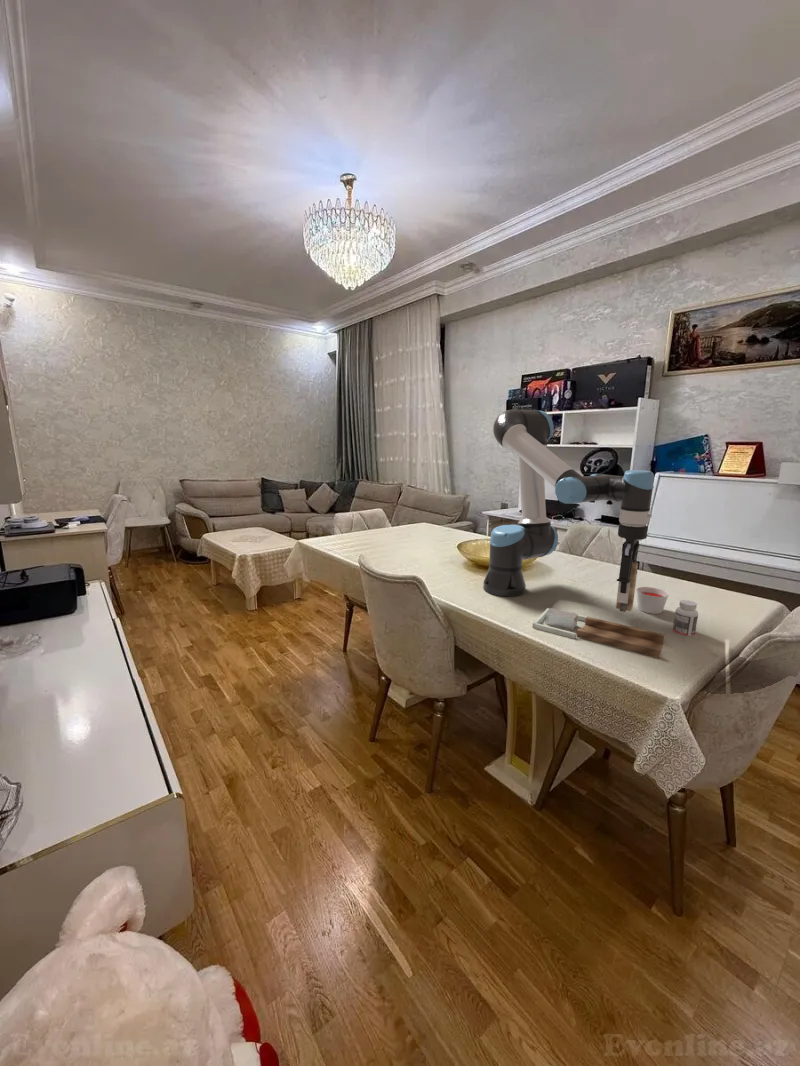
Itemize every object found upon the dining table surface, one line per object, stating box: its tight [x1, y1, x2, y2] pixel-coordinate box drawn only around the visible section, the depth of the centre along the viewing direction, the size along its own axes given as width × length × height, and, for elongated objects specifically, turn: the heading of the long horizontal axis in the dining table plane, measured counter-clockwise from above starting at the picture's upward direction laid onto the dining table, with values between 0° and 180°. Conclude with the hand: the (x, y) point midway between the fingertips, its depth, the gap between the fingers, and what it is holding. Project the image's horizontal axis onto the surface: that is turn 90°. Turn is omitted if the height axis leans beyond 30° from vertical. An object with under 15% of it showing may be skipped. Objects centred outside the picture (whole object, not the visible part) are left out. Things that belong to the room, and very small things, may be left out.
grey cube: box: [544, 607, 565, 628], centre depth 128 cm, size 4×4×4 cm
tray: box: [531, 607, 587, 640], centre depth 128 cm, size 12×14×2 cm
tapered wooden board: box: [615, 561, 639, 613], centre depth 129 cm, size 4×7×14 cm, turn 144°
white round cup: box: [636, 586, 670, 615], centre depth 139 cm, size 9×9×6 cm
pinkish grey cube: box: [558, 610, 579, 632], centre depth 126 cm, size 4×4×4 cm
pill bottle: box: [672, 599, 699, 636], centre depth 122 cm, size 5×5×10 cm
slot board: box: [576, 616, 665, 659], centre depth 119 cm, size 20×11×3 cm, turn 54°
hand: (624, 598), depth 130 cm, fingers closed on tapered wooden board, 7 cm apart
